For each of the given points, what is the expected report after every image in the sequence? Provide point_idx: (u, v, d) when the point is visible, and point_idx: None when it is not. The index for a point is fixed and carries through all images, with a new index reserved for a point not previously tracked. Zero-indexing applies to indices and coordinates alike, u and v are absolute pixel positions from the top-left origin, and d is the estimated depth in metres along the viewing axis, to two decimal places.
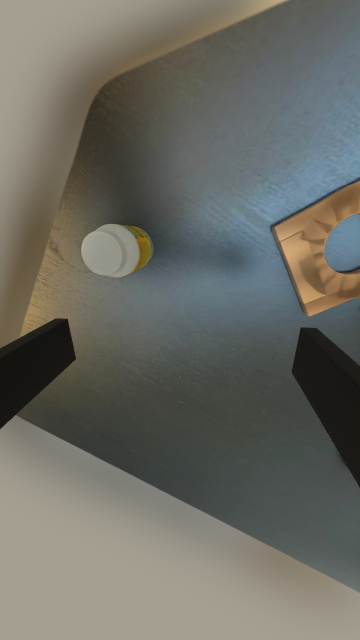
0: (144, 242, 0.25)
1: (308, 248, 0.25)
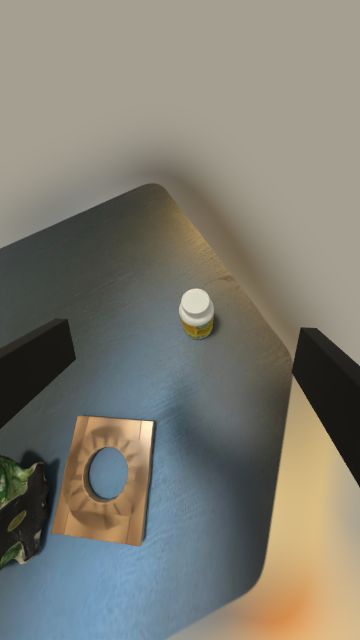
0: (193, 332, 0.35)
1: (124, 438, 0.32)
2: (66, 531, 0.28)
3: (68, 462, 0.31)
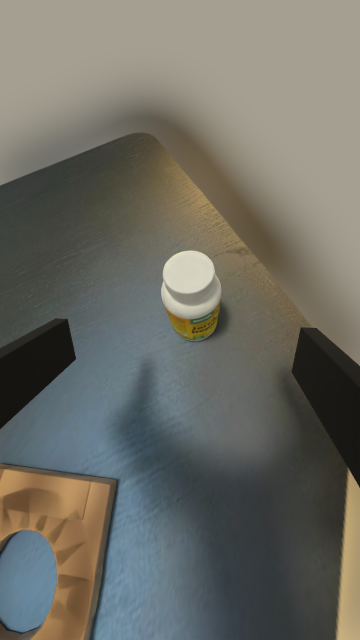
0: (186, 330, 0.21)
1: (58, 514, 0.18)
2: None
3: None
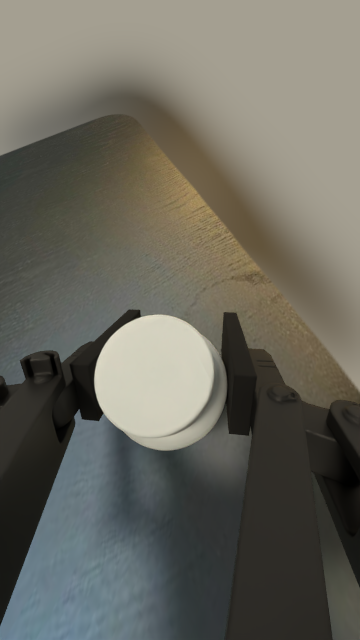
0: None
1: None
2: None
3: None
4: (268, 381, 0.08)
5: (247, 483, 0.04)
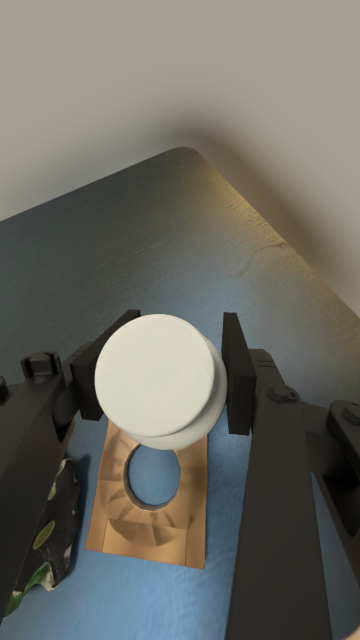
0: None
1: None
2: (105, 547, 0.22)
3: (103, 459, 0.25)
4: (268, 381, 0.08)
5: (247, 483, 0.04)
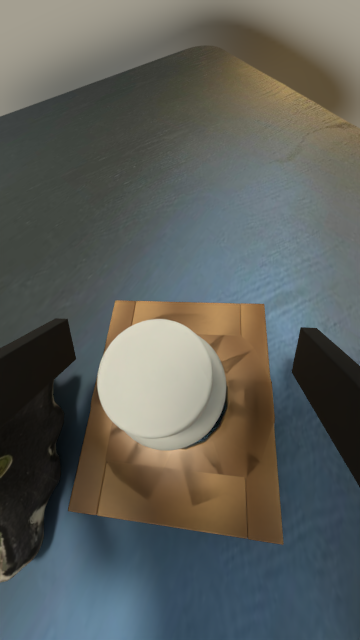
0: None
1: (211, 332, 0.16)
2: (102, 508, 0.13)
3: None
4: None
5: None
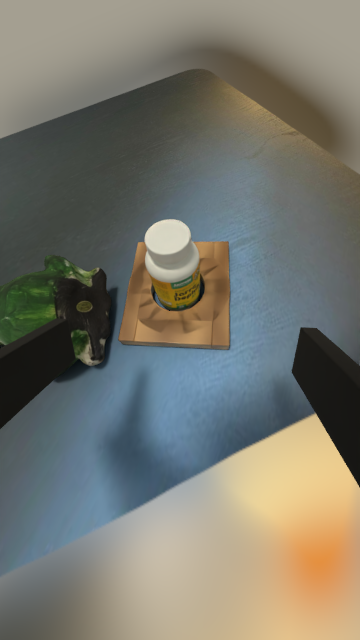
0: (169, 296, 0.23)
1: None
2: (136, 337, 0.24)
3: (132, 280, 0.27)
4: None
5: None
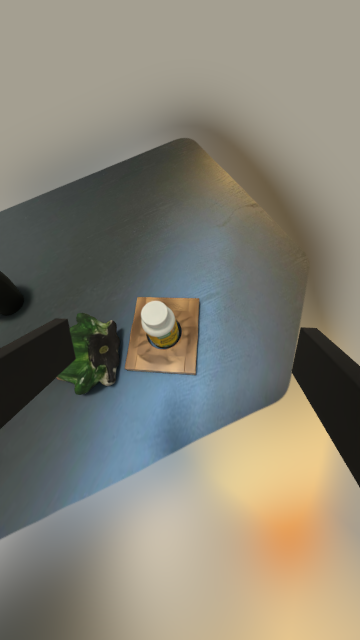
0: (157, 342, 0.36)
1: (177, 309, 0.41)
2: (136, 367, 0.37)
3: (133, 326, 0.40)
4: None
5: None
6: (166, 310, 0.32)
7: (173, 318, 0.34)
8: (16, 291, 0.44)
